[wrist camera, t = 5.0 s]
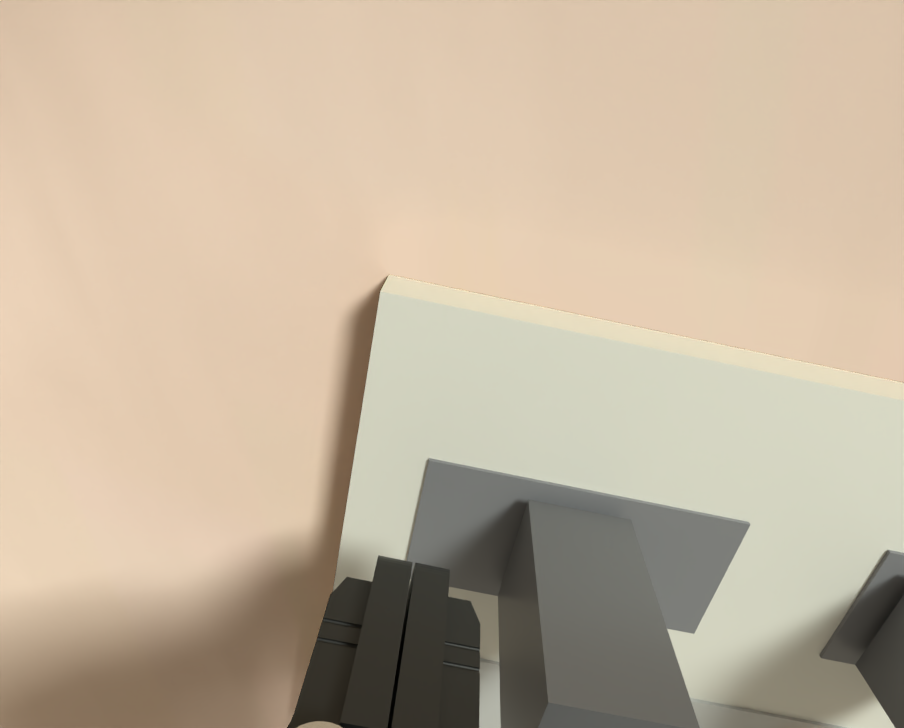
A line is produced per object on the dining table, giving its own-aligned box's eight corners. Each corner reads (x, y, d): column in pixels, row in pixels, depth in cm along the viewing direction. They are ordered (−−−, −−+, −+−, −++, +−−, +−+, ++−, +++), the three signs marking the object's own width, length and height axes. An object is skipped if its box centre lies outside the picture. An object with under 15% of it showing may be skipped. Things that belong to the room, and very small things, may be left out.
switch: (528, 499, 14) (548, 702, 9) (631, 519, 14) (700, 731, 9) (498, 595, 15) (502, 816, 11) (592, 613, 15) (637, 840, 11)
